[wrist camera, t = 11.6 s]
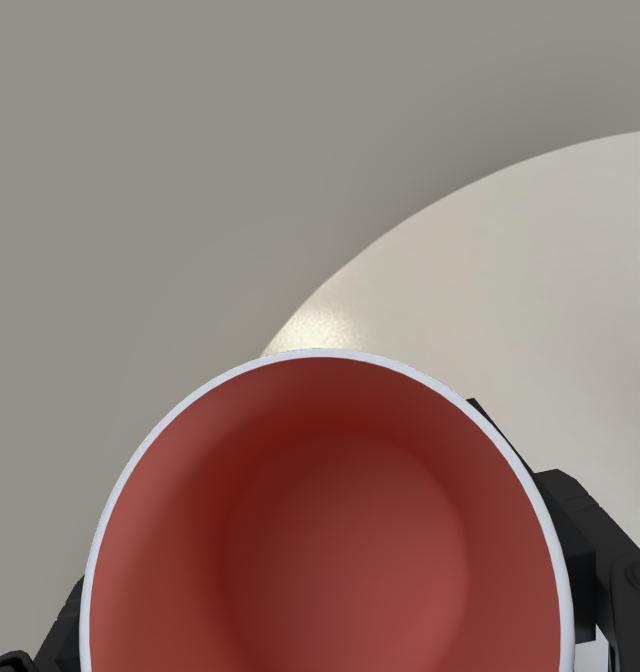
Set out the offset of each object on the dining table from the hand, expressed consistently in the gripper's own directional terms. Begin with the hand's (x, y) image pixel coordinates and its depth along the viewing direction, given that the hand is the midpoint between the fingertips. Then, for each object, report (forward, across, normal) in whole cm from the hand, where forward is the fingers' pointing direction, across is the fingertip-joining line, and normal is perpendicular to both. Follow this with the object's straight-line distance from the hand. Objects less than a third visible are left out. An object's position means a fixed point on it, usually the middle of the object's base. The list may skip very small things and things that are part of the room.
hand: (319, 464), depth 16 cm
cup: (+1, 0, -5) cm, 5 cm away
